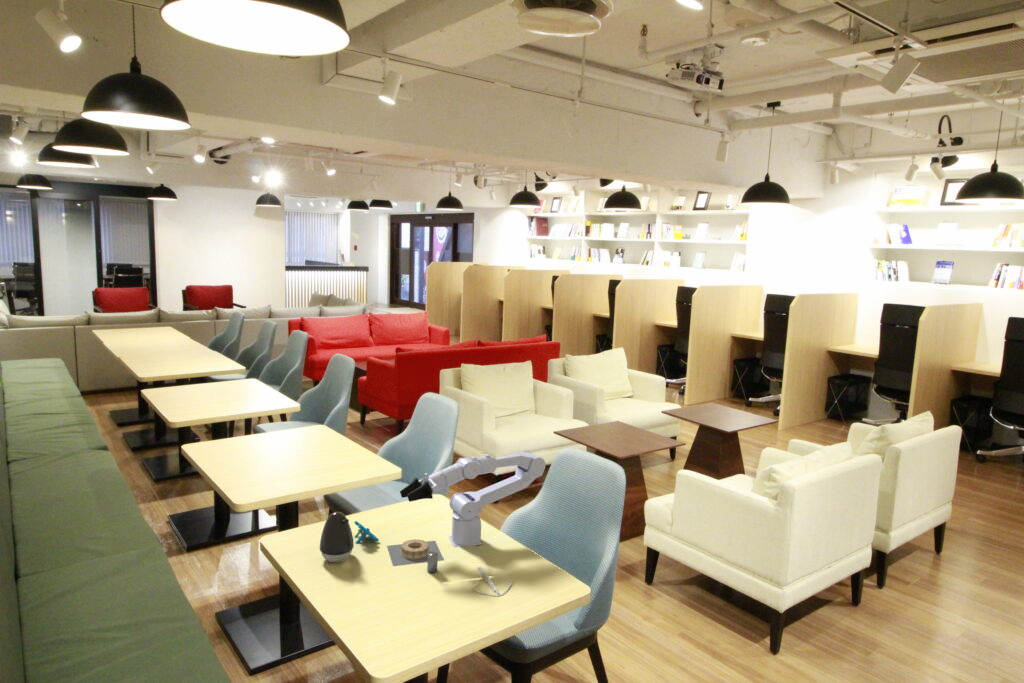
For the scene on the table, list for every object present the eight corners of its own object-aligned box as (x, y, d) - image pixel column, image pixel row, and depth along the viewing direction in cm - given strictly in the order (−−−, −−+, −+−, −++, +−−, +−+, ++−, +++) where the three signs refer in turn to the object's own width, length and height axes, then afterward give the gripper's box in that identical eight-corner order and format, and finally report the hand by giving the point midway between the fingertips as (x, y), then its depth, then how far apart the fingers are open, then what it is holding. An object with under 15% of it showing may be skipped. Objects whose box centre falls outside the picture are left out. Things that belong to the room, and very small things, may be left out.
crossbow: (519, 596, 188) (519, 590, 188) (478, 604, 183) (479, 598, 183) (497, 567, 202) (498, 561, 202) (459, 574, 197) (460, 568, 197)
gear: (383, 541, 213) (361, 523, 209) (371, 556, 211) (349, 538, 207) (374, 532, 222) (353, 515, 219) (362, 547, 221) (341, 529, 217)
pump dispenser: (334, 570, 196) (334, 522, 194) (313, 559, 203) (312, 512, 200) (360, 558, 204) (361, 512, 202) (339, 548, 211) (339, 503, 208)
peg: (436, 569, 199) (436, 551, 198) (438, 574, 196) (438, 555, 195) (426, 570, 198) (426, 552, 197) (428, 575, 195) (428, 556, 194)
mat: (434, 542, 217) (434, 540, 217) (444, 561, 204) (444, 559, 204) (386, 547, 212) (386, 545, 212) (392, 567, 199) (393, 565, 199)
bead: (425, 545, 214) (425, 538, 213) (430, 557, 206) (430, 549, 205) (399, 548, 211) (399, 541, 211) (403, 560, 203) (403, 552, 203)
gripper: (431, 465, 217) (394, 481, 211) (446, 470, 204) (407, 488, 198) (438, 484, 218) (401, 501, 212) (453, 491, 205) (414, 509, 199)
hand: (404, 496), depth 205 cm, fingers open, 7 cm apart
